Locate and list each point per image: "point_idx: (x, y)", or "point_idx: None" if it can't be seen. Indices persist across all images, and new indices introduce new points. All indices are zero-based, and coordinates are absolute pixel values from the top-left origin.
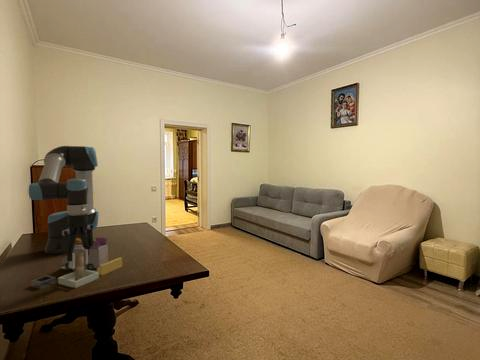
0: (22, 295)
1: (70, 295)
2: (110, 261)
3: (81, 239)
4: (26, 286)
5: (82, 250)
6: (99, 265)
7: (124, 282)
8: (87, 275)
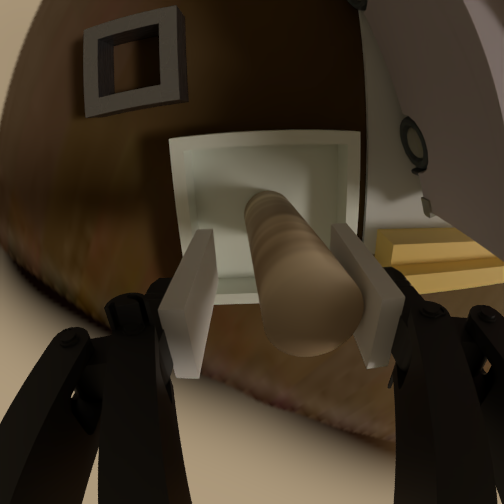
0: (40, 122)
1: None
2: (466, 274)
3: (428, 451)
4: (93, 18)
5: (374, 296)
6: (433, 213)
7: (340, 391)
8: (337, 200)
